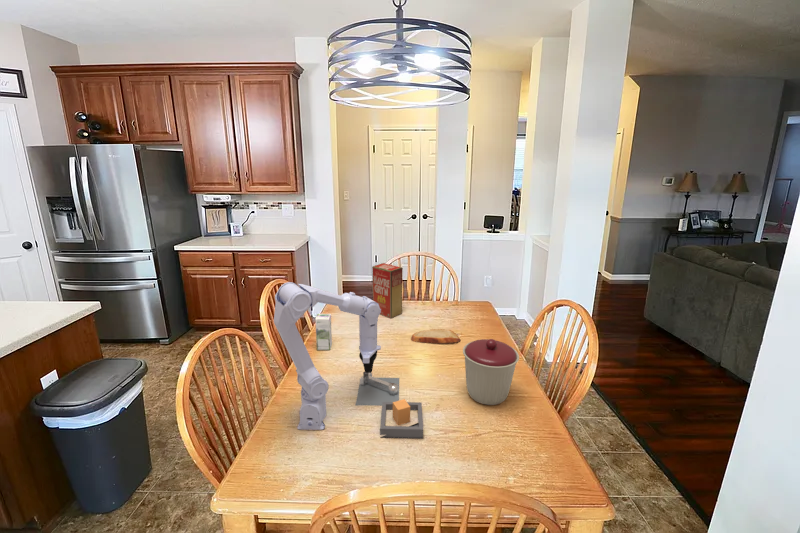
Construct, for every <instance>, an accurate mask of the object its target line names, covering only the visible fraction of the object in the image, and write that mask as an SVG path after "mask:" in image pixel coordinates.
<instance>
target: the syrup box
mask: <svg viewBox="0 0 800 533" xmlns="http://www.w3.org/2000/svg"><path fill="white" fill-rule="evenodd" d="M314 320H315V340H316V351H331V349H332V345H333V336H332V335H333V334H332V333H333V332H332V314H331V313H317V314H316V317H315V319H314Z"/></svg>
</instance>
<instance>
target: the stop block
mask: <svg viewBox="0 0 800 533" xmlns="http://www.w3.org/2000/svg"><path fill="white" fill-rule="evenodd" d="M407 402H408V401H407V400H406V399H405V398H403V399H399V401H396V402H393V410H392V420H394V422H395V424H396V426H402V425H405V424H407V423H408V424H409V423H410V422H411V410H410V406H409V404H408V403H407Z"/></svg>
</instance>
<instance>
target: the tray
mask: <svg viewBox="0 0 800 533" xmlns="http://www.w3.org/2000/svg"><path fill="white" fill-rule="evenodd" d="M406 402H407V403H408V404H409V406H410V411H417V423H416V422H415V423H413V424H411V425H409V426H408V425H407V426H405V425H403V426H402V425H399V426H398V425H386V418H387V417H386V416H387V415H386V414H387V410H388V411H393V402H382V406H381V414H380V415H381V417H380V427H379V435H381V436H380V439H415V440H416V439H418V440H423V439H424V420H423V419H424V418H423V406H422V403H423V402H415V401H413V402H411V401H409V402H408V401H406Z"/></svg>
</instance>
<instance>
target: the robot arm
mask: <svg viewBox="0 0 800 533" xmlns="http://www.w3.org/2000/svg"><path fill="white" fill-rule="evenodd" d="M274 301H275V304H274V305H275V307H274V315H273V316H274V317H273V324H274V326H275V328H276V330H277V332H278V334H279V336H280V338H281V340H282V343H283V344H284V347H285V349H286V351H287V352H288V354H289V356H290V359H291V360H292V362H293V364H294V366H295V368H296V369H295V372H296V373H297V377H296V378H297V379H296V380H297V383H298V384H299V386H301V390H300V398H301V405H300V409H299V422H298V425H297V430H308V431H310V430H312V431H313V430H314V431H315V430H317V431H320V430H321V431H323V430H325V428H326V425H325V423H324V419H325V418H326V416H327V399H326V398H327V397H326V394H327V392H328V391H329V387H330V385H329V382H328V381H327V380H326V379H325V378H324V377H323V376H322V375H321V373H320V372H319V370H318V369H317V367H316V366H315V364H314V362H313V360H312V357H311V355H310V353H309V351H308V348H307V346H306V344H305V343H304V340H303V338H302V336H301V334H300V331H299V329H298V328H297V325H296V324H297V322H298V320H300V318H301V317H302V316H303V315H304V314H305V313H306V312H307V311H308V310H309V308H310V307H311V308H314V307H315V306H316V305H317V304H318V303H321V304H326V305H331V306H335V307H338V310H339V311H340V312H342V313H348V314H351V315H354V316H355V315H356V316H358V319H359V320H358V323H359V324H358V326H359V327H358V328H359V329H358V330H359V334H358V335H359V345H358V351H359V356H358V357H359V359H360V361H361V362H362V366H363V369H364V372H366V373H373V372H372V371H373V367H374V362H375V360H376V359H377V356H378V351H380V350H381V348H382V347H381V345H378V322H379V321H378V320H379V316H381V315H380V313H381V309H380V307H379V304H378V303H376V302H375V301H373V299H371V298H369V297H367V296H365V295H363V296H359V295H356V293H355V292H354V291H350V292H344V293H342V294H341V295H340V294H337V293H334V292H330V291H327V290H325V289H322V288H321V289H320V288H317V287H315V286H310V285H307V284H303V283H297V284H296V283H295V282H291V281H288V282H285V283H283V284H281V286H279V288H278V289H277V292H276V293H275V295H274Z"/></svg>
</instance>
